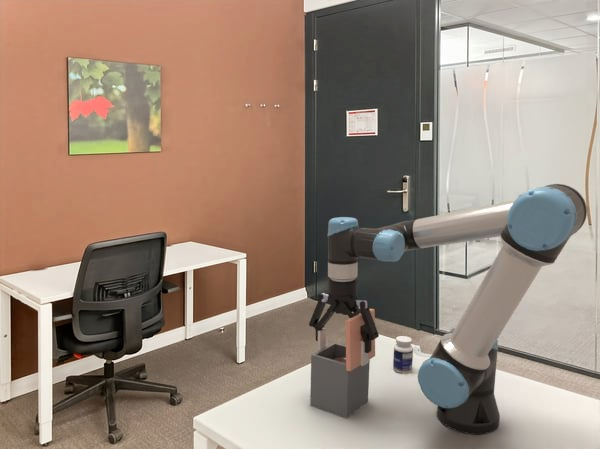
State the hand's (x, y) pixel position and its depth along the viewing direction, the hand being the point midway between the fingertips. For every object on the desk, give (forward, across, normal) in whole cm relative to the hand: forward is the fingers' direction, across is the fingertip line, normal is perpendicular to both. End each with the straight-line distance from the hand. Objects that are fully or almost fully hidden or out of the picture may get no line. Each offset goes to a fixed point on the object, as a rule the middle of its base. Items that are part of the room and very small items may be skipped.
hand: (342, 358), depth 146 cm
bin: (+13, +1, 0) cm, 13 cm away
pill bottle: (+13, -3, -30) cm, 33 cm away
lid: (-6, -5, 0) cm, 8 cm away
